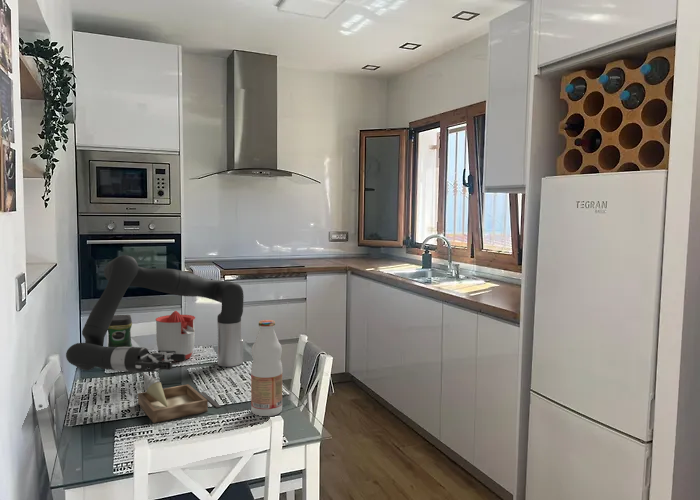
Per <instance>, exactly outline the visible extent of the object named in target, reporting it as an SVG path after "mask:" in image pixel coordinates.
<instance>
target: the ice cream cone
mask: <svg viewBox="0 0 700 500" xmlns="http://www.w3.org/2000/svg"><path fill="white" fill-rule="evenodd" d="M142 375H143V383H144V384H143V389H144V392H147V394H149V395H151V396H152V397H153V398H155V399H156V400H157V401H159V402H160V403H162V404H163V405H164V406H166V407H168V405H167V402H166V398H165V395H164V392H163V389H164V388H163V385H162V382H160V380H159V379H158V380H157V377H155V378H154V377H151V375H148V374H146V373H145V372H143V373H142Z"/></svg>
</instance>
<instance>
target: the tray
mask: <svg viewBox="0 0 700 500" xmlns="http://www.w3.org/2000/svg"><path fill="white" fill-rule="evenodd" d="M163 392H164V395H165V398H166V402H167V405H168V407H166V406H164V405H163V404H162V403H160V402H159V401H157V400H156V399H155V398H153V397H152V396H151V395H149V394H147V392H146V391H143V392H138V393H137V404H138V405H140V406H139V408H141V409H142V410H143V412H144V413H145V414H146V416H147V417H148V419H150V421H151V422H152V423H153V424H155V423H160V422H165V421H169V420H174V419H179V418H183V417H188V416H192V415H197V414H202V413H207V412H208V410H209V409H208V407H209V403H210V404H211V405H212V406H213V407H215V409H219V408H222V405H220V404H219V403H218V401H215V400H214V399H213V398H212V397H211V396H210V395H208V394H207V393H206V392H204V391H200V392H198V391H197V390H196V389H195V388H194V387H192V386H191V385H190V383H189V384H188V383H187V384H182V385H177V386H171V387H165V388H163Z"/></svg>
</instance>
